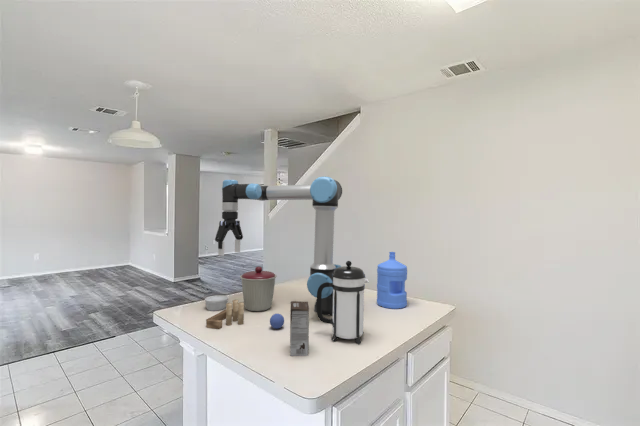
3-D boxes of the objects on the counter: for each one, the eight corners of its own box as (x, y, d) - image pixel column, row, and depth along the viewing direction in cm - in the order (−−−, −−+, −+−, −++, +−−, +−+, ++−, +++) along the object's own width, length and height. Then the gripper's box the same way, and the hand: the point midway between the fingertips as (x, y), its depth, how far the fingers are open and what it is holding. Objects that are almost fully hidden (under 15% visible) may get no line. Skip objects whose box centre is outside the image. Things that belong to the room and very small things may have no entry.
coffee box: (290, 345, 116) (290, 301, 116) (307, 344, 116) (308, 300, 116) (289, 356, 107) (290, 308, 107) (308, 355, 107) (309, 308, 107)
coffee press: (352, 327, 134) (352, 256, 134) (374, 341, 120) (375, 262, 120) (315, 334, 126) (316, 259, 126) (335, 349, 112) (336, 265, 112)
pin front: (244, 323, 138) (244, 302, 138) (241, 325, 136) (242, 304, 135) (239, 322, 138) (240, 302, 138) (236, 324, 136) (237, 303, 136)
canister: (271, 301, 171) (272, 263, 171) (280, 312, 154) (280, 268, 154) (237, 305, 164) (238, 264, 164) (242, 315, 147) (242, 270, 147)
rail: (240, 316, 147) (240, 309, 147) (219, 329, 130) (219, 322, 130) (227, 314, 148) (227, 308, 148) (204, 327, 132) (204, 320, 132)
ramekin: (200, 308, 158) (200, 297, 158) (220, 303, 167) (221, 293, 167) (211, 313, 151) (211, 302, 151) (232, 308, 159) (232, 297, 159)
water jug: (371, 305, 167) (371, 252, 167) (385, 299, 179) (386, 249, 179) (398, 311, 157) (398, 255, 157) (411, 304, 169) (412, 252, 169)
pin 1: (232, 323, 137) (233, 303, 137) (229, 325, 134) (230, 304, 134) (228, 323, 137) (228, 302, 137) (224, 325, 135) (225, 304, 135)
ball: (286, 326, 134) (286, 312, 134) (280, 331, 129) (280, 316, 129) (273, 324, 136) (273, 311, 136) (267, 329, 130) (267, 315, 130)
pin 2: (238, 320, 141) (239, 300, 141) (236, 321, 139) (236, 301, 139) (234, 319, 142) (234, 299, 142) (231, 321, 140) (231, 301, 140)
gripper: (237, 211, 170) (237, 250, 170) (207, 210, 146) (206, 256, 146) (249, 211, 168) (249, 251, 168) (221, 211, 144) (220, 257, 144)
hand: (229, 253), depth 157 cm, fingers open, 13 cm apart
